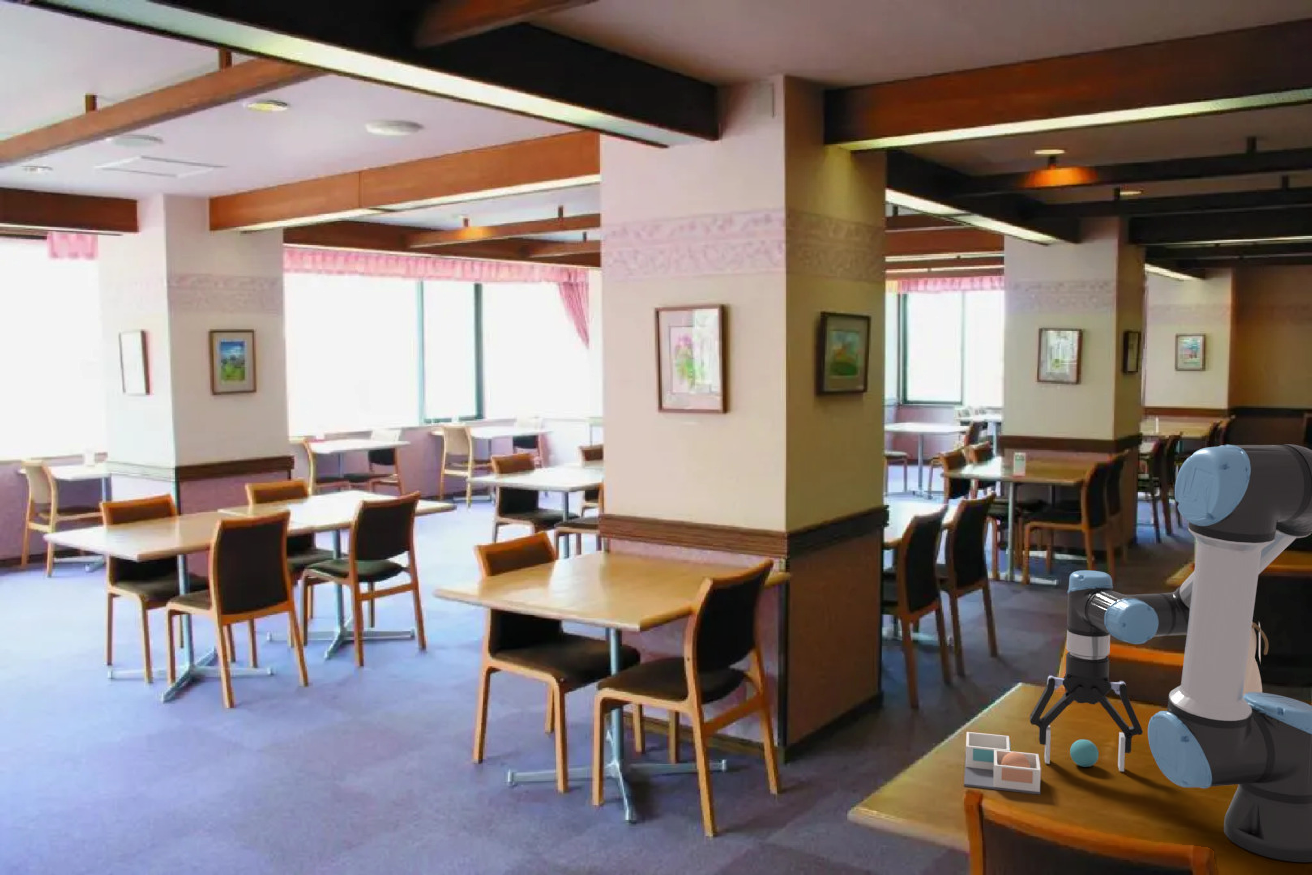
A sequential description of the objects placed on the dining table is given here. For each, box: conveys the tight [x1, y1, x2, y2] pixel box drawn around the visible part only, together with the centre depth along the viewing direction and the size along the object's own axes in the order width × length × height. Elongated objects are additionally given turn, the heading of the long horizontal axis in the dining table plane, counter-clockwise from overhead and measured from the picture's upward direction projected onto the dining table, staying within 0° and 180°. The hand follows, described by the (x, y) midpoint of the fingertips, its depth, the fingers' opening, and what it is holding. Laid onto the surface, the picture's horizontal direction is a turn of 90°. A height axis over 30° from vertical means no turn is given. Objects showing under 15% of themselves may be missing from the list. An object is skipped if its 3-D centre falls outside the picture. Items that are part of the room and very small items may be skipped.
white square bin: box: [965, 731, 1012, 770], centre depth 206 cm, size 8×8×4 cm
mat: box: [963, 753, 1041, 795], centre depth 201 cm, size 16×13×1 cm
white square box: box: [993, 750, 1042, 793], centre depth 197 cm, size 8×8×4 cm
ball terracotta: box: [1001, 751, 1030, 768], centre depth 197 cm, size 5×5×5 cm
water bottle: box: [1243, 621, 1269, 696], centre depth 212 cm, size 10×9×28 cm
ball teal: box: [1069, 738, 1099, 768], centre depth 205 cm, size 5×5×5 cm
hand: (1083, 764), depth 205 cm, fingers open, 12 cm apart
